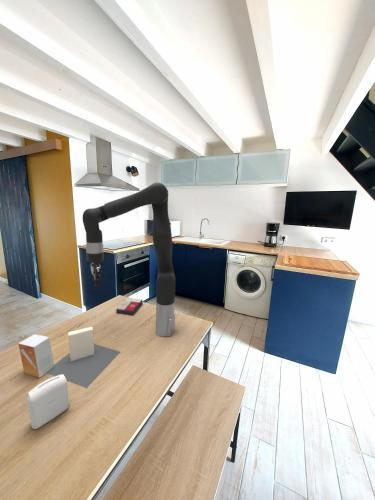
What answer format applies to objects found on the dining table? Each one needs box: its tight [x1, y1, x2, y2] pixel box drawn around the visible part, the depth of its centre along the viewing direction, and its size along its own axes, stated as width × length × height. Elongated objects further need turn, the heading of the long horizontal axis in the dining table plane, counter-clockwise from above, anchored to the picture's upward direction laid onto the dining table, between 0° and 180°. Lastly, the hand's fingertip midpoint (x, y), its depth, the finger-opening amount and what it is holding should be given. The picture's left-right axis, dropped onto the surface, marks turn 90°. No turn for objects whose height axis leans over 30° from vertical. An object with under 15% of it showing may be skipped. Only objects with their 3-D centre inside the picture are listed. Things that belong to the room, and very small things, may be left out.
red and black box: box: [115, 297, 144, 317], centre depth 131 cm, size 11×4×15 cm
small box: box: [17, 333, 55, 379], centre depth 79 cm, size 8×6×13 cm
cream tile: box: [67, 326, 95, 361], centre depth 88 cm, size 2×9×12 cm, turn 122°
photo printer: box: [26, 374, 70, 430], centre depth 63 cm, size 10×4×12 cm, turn 140°
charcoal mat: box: [45, 343, 121, 389], centre depth 86 cm, size 20×20×1 cm
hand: (96, 283), depth 102 cm, fingers open, 6 cm apart
